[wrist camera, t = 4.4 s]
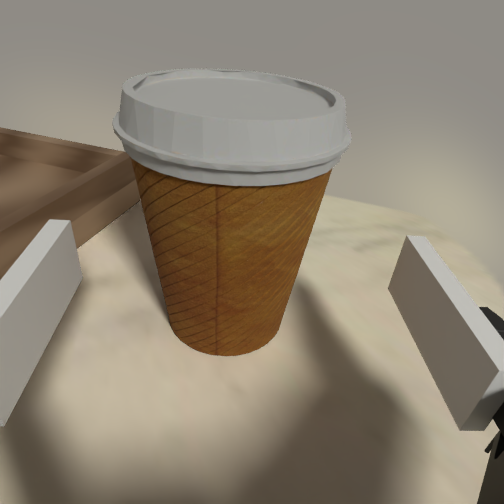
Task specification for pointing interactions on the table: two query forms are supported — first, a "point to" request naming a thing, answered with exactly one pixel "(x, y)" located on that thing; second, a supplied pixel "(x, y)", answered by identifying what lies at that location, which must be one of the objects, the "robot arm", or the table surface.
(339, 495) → the table surface
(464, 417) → the robot arm
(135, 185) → the shallow wooden crate
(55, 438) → the table surface
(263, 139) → the disposable coffee cup
